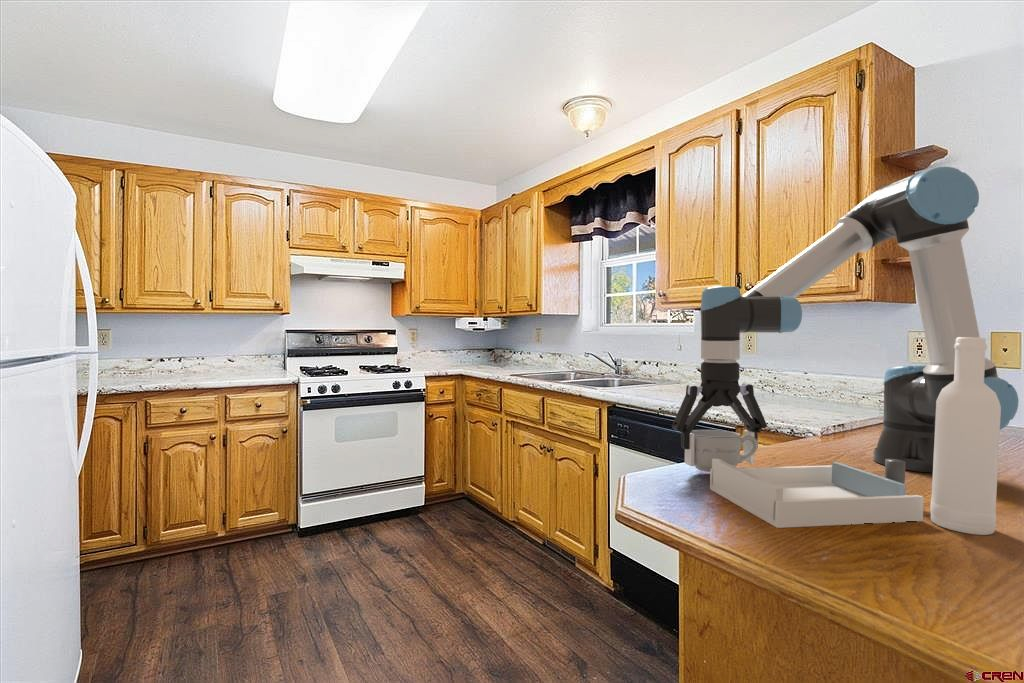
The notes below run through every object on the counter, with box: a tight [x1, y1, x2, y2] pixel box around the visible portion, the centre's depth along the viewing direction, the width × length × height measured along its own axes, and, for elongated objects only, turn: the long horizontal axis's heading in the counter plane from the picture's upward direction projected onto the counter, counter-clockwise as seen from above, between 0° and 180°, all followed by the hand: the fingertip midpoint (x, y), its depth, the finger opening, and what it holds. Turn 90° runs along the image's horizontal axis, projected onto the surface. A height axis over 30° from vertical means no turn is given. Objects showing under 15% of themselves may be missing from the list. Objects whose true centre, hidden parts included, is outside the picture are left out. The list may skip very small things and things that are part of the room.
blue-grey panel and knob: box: [831, 459, 907, 497], centre depth 96 cm, size 8×15×6 cm, turn 9°
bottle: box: [930, 337, 1001, 536], centre depth 84 cm, size 8×8×30 cm
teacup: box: [691, 429, 759, 473], centre depth 111 cm, size 14×11×8 cm
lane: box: [709, 459, 925, 529], centre depth 95 cm, size 33×20×6 cm, turn 99°
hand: (719, 463), depth 111 cm, fingers closed on teacup, 13 cm apart
